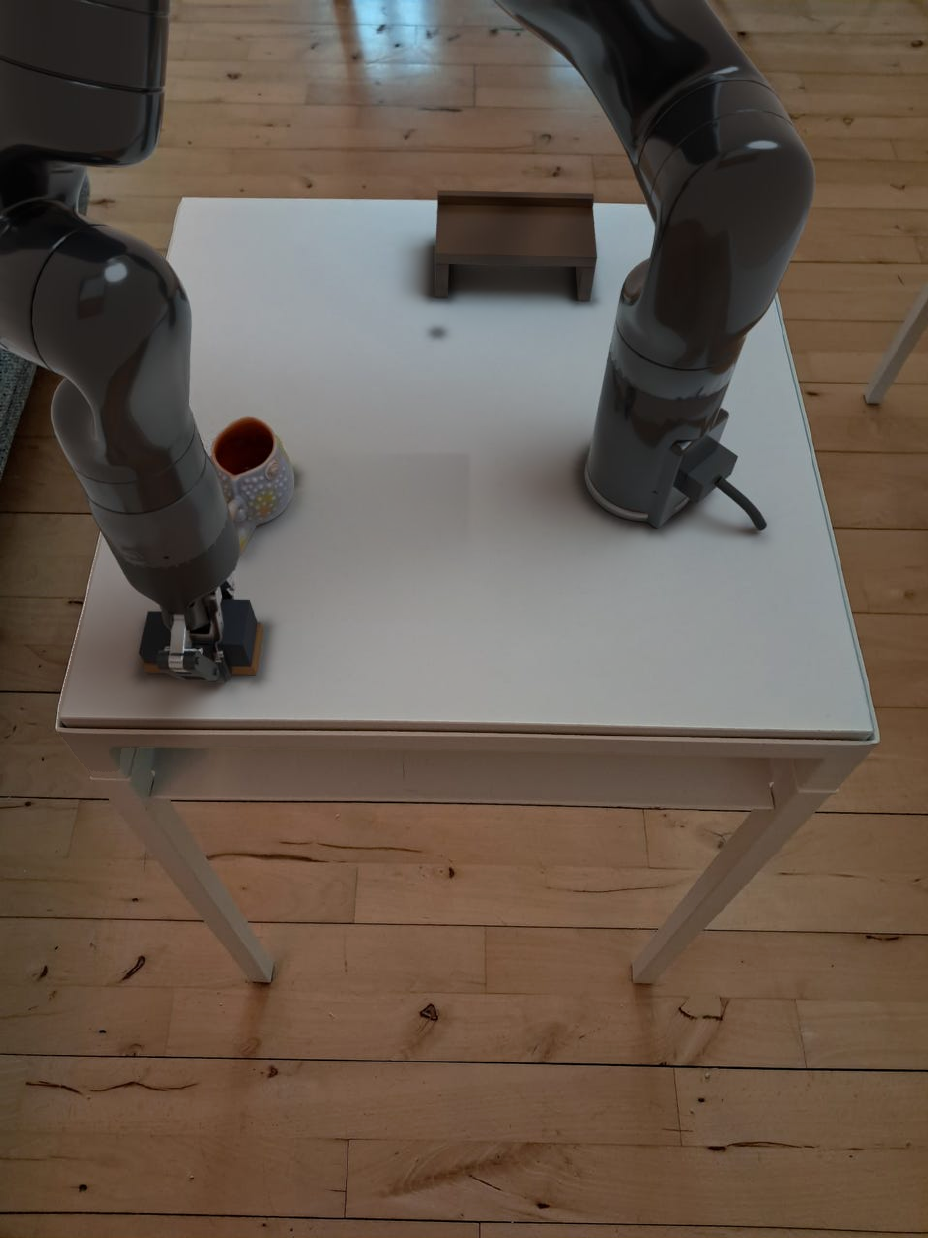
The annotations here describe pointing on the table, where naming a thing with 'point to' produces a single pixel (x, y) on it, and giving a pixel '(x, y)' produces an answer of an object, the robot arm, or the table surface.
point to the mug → (252, 473)
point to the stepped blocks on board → (236, 641)
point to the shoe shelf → (515, 232)
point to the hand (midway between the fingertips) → (222, 648)
